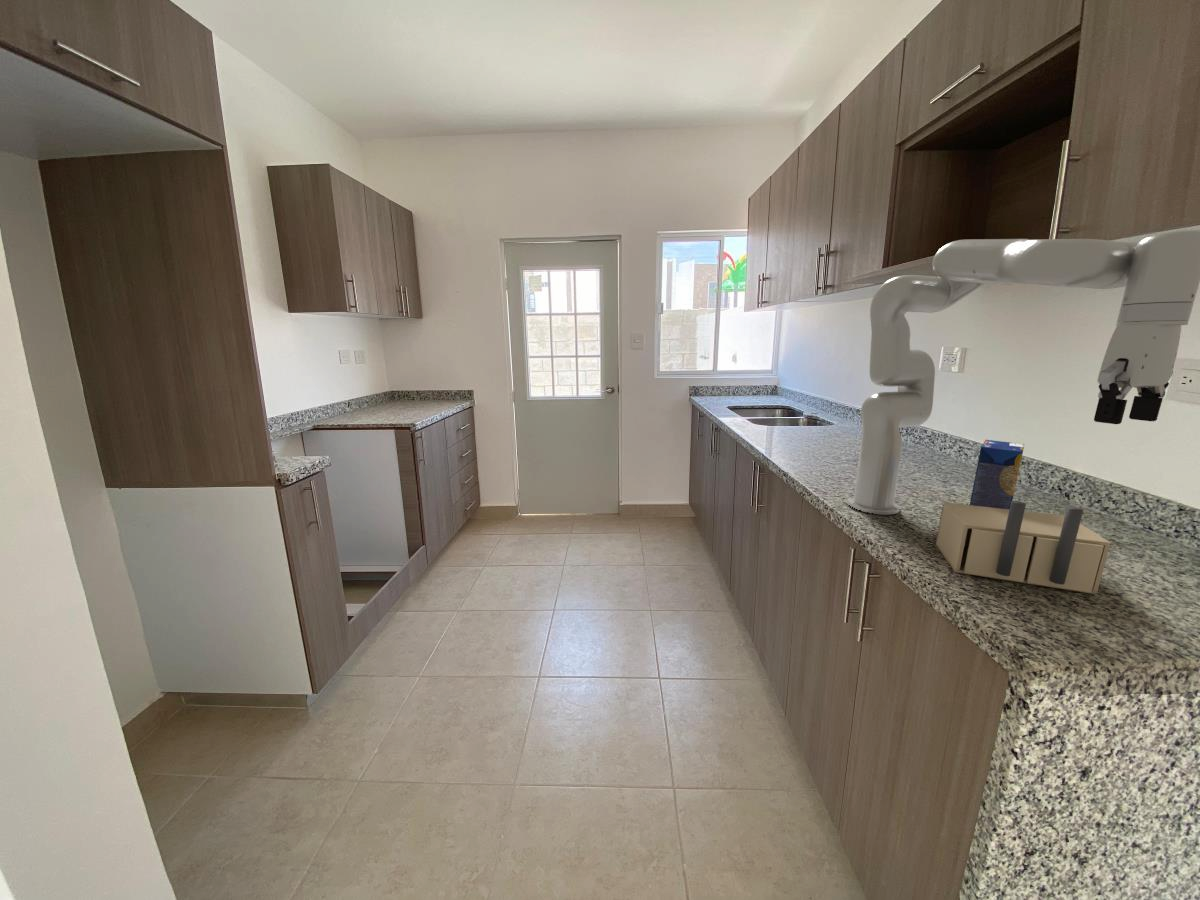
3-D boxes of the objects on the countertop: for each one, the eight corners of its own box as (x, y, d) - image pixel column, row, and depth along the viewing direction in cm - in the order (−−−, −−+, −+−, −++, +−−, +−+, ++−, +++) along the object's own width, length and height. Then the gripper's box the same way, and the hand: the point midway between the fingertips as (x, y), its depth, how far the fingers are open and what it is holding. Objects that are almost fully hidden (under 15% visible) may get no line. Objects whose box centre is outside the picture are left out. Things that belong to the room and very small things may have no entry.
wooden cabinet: (935, 544, 103) (943, 502, 101) (1056, 561, 95) (1067, 515, 93) (955, 572, 90) (964, 524, 88) (1096, 594, 83) (1110, 542, 80)
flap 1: (963, 571, 89) (978, 496, 86) (1022, 580, 86) (1040, 502, 83) (967, 577, 87) (983, 500, 84) (1028, 587, 84) (1046, 507, 80)
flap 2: (1026, 581, 86) (1044, 503, 82) (1089, 591, 83) (1111, 510, 79) (1032, 587, 84) (1051, 507, 80) (1097, 598, 80) (1120, 514, 77)
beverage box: (1004, 534, 108) (1024, 443, 103) (1001, 549, 101) (1022, 451, 96) (968, 526, 113) (985, 439, 108) (962, 540, 105) (981, 446, 100)
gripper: (1151, 318, 80) (1125, 416, 84) (1088, 316, 74) (1063, 420, 78) (1218, 316, 73) (1187, 422, 77) (1154, 313, 67) (1123, 428, 71)
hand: (1124, 421), depth 77 cm, fingers open, 9 cm apart
